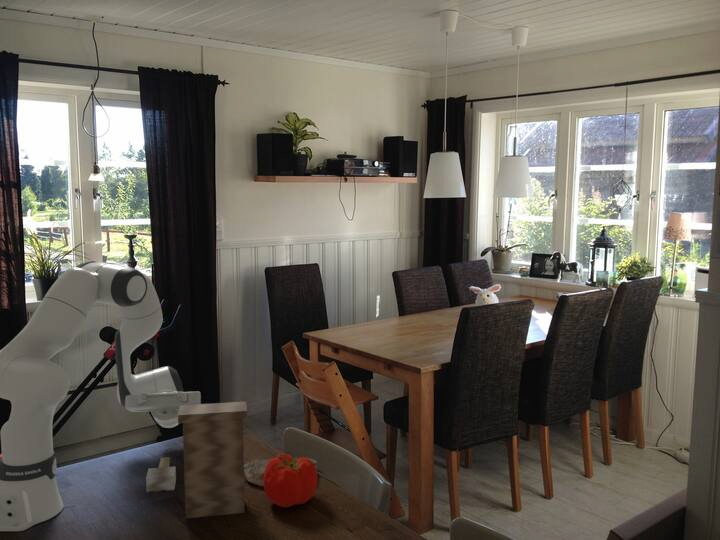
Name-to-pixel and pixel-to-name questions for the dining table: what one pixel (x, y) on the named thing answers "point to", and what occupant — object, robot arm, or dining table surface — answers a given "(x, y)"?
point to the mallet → (161, 476)
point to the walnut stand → (213, 458)
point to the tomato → (289, 480)
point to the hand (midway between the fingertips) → (161, 395)
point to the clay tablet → (260, 470)
